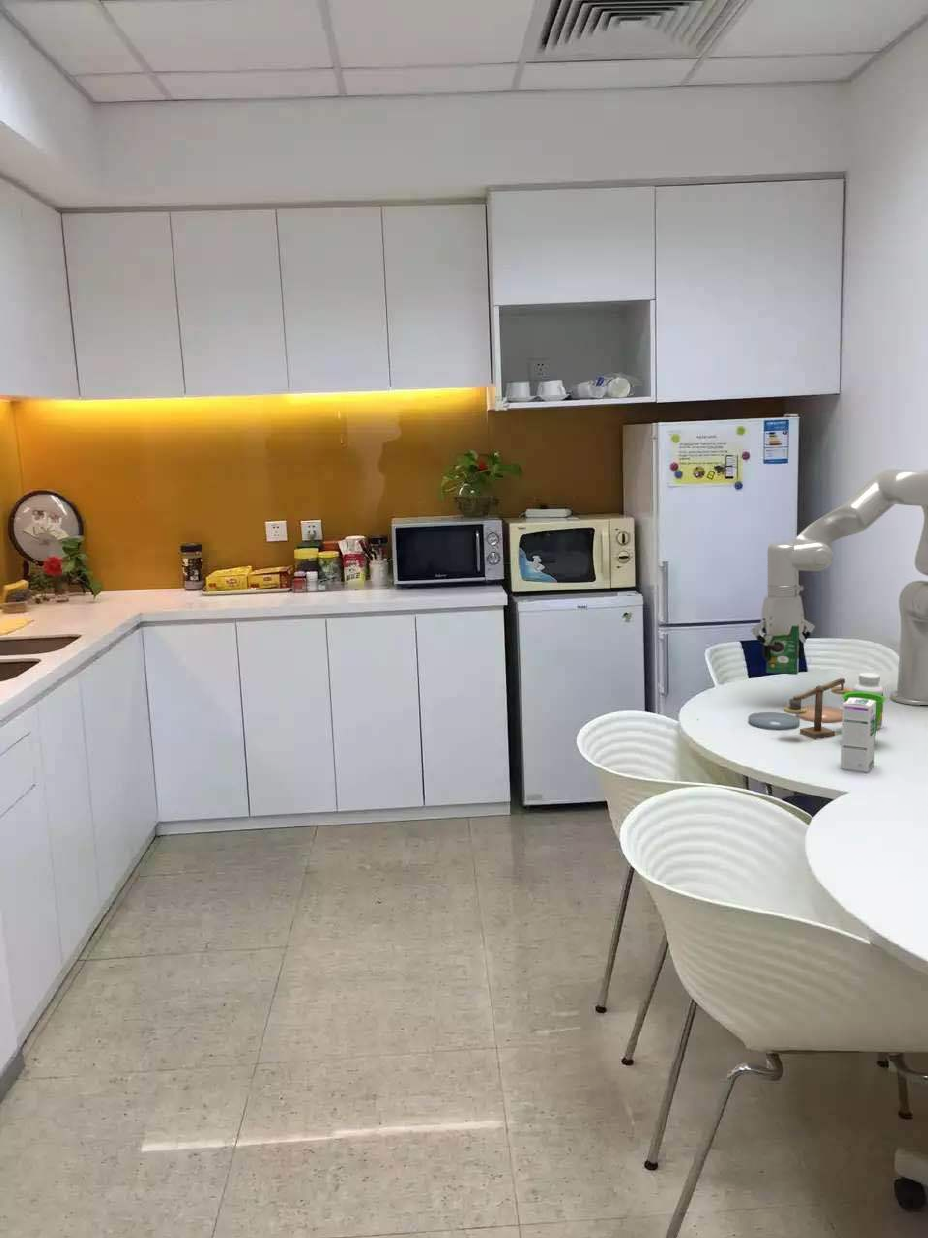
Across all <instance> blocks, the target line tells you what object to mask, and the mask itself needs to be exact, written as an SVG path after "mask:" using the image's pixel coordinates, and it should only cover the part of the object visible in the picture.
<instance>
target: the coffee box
mask: <svg viewBox="0 0 928 1238" xmlns="http://www.w3.org/2000/svg"><path fill="white" fill-rule="evenodd" d="M769 646H771V660H770V661H767V660H766V665H765V667H766V669H765V672H766V674H780V675H789V676H793V675H794V676H797V675H798V674H799V660H800V658H799V625H793V626H792V627H791V630H790V633H789V635H786V636H773V638H772V639H771V641H770V643H769Z"/></svg>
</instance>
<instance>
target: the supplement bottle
mask: <svg viewBox="0 0 928 1238" xmlns="http://www.w3.org/2000/svg"><path fill="white" fill-rule="evenodd" d="M858 681H859V682H858V683H857V684H855V685H854V687H853V690H854V692H868V693H874V694H878V695H881V696H883V697H884V689H883V687H882V686H881V685H880V684H879V683H880V681H881V675H879V674H878V673H872V672H863V673H862V672H861V673H859V674H858ZM883 705H884V703H883V704H882V709H881V713H880V717H879V722H878V726H877V730H880V729H881V728H882V727H883V726H882V724H883V707H884V706H883Z"/></svg>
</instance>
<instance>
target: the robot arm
mask: <svg viewBox="0 0 928 1238" xmlns="http://www.w3.org/2000/svg"><path fill="white" fill-rule="evenodd" d="M895 505H903V506H904V505H905V506H917V507H919V506H920V507H921V508H922V511H923V518H924V519H923V520H924V521H923V526H922V531H921V535H920V538H919V542H918V545H917V549H916V552H915V553H916V554H915V557H914V566H915V569H916V570H917V571H918V572H919V573H920V574H921V575H923V576H926V577H928V469H923V470H909V469H908V470H907V469H891V468H889V469H885V470H882V471H880V472H879V473H878V474H876V475H875V476H873V478H871V479H870V480H869V481H868V482H867V483H866V484H865V485H864V486H862V487H861V488H860V489H859V490H858V491H857V492H856V493H854V495H852V496H851V497H850V498H849V499H847V501H845V502H844V503H843V504H842V505H840V506H839V507H837V508H835V509H833V510H832V511H830V512H828V513H826V514H825V515H824V516H821V517H820V518H818V519H817V520H815V521H813V522H812V523H810V524H809V525H808V526H807V527H806V528H804V529H803V530H802V531H800V533H799V534H798V535H796V537H794V538H793V540H792V541H791V542H774V543H771V544H769V545H768V547H767V596H764V597H763V601H762V607H761V613H760V614H761V615H760V622H758V623H757V624H756V625H755V626H754V627H752V628H750V629H751V630H750V632H751V634H752V635H753V637H754V638H755V639H756V641H758V642H759V643H760V644H761V656H762V658H763V660H765V661H766V662H767V661H770V660H771V646H769V643H770V641H771V639H772V638H773V636H786V635H789V633H790V630H791V627H792V626H793V625H799V659H803V655H804V652H805V651H804V650H805V648H804V647H805V643H806V642H807V641H806V640H807V639H808V638H809V637H810V636H811V634H812V633H813V631H814V630H815V628H816V626H815V624H813V623H811V622H810V621H808V620H807V619H805V615H804V612H805V611H804V606H803V600H802V596H801V595H800V592H802V591H804V585H800V584H799V577H800V576H799V571H806V572H807V571H809V572H820V571H824V570H826V569H827V568H829V566H830V565H831V564H832V563H833V562H834V561H833V560H834V551H833V549H832V547H830V546H829V545H830V544H832V543H834V542H836V541H838V540H840V539H842V538H844V537H848V536H851V535H855V534H859V533H861V532H864V531H866V530H867V529H869V528H870V527H872V525H873V524H874V523H875V522H877V520H878V519H880V518H881V517H882V516H884V514H885V513H886V512H888V511H889V510H890V509H892V508H893V507H894V506H895ZM898 597H899V599H898V607H899V615H900V642H899V643H900V644H899V655H898V656H899V659H898V672H897V673H898V675H897V676H898V678H897V690H895V691H892V692H891V693H890V699H891V700H893V701H895V702H897V703H900V704H904V705H905V704H906V705H912V706H920V705H928V580H927V581H926V580H914V581H911V582H910V583H907V584H906V585H905V586H904V587H903V588H902V589H901V591H900V593H899V596H898ZM805 627H806V628H805ZM760 632H761V633H762V634H763V635H761V634H760Z"/></svg>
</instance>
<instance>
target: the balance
mask: <svg viewBox="0 0 928 1238" xmlns="http://www.w3.org/2000/svg"><path fill="white" fill-rule="evenodd" d="M845 683H846V678H843V677H841V678H837V679H836V680H835V679H834V680H833V681H830V682H827V683H825V684H823V685H820V684H819V685H816V686H815V688H814V687H813V689H810V690H808V691H804V692H802V693H800V694H797V695H794V696H793V697H792V698H790V699H789V700H788V701H789V703H788V705H786V706H784V707H783V712H784V713H786V714H790V715H796V714H803V713H806V708H804V707H801V706H802V700H803V701H804V700H805V699H808V698H810V697H812V696H815V700H814V705H815V717H814V723H813V726H810V727H804V728H800V729H799V734H800V735H802V736H805V737H807V738H809V737H810V738H809V739H812V738H813V739H812V740H814V739H815V740H818V739H817V738H821V739H825V738H824V737H827V738H832V737H835V736H836V731H835V730H832V729H830V728H827V727H825V726H823V725H822V723H821V722H822V705H823V697H824V696H823V695H824V694H823V693H824V692H825V691H828V690H830V692H831V693H833V694H835V695H836V694H837V695H843V694H845V693H849V692H854V688H851V687H847V686H844V685H845Z"/></svg>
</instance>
